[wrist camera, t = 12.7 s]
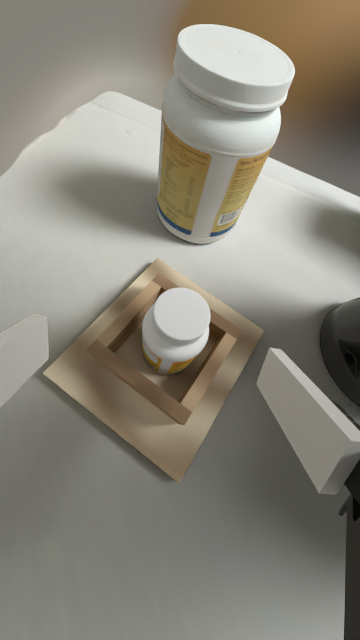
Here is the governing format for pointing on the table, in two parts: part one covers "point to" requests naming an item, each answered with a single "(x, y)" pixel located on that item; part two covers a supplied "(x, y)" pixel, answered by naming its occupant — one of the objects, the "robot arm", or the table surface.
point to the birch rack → (155, 373)
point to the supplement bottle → (175, 330)
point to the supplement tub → (217, 127)
